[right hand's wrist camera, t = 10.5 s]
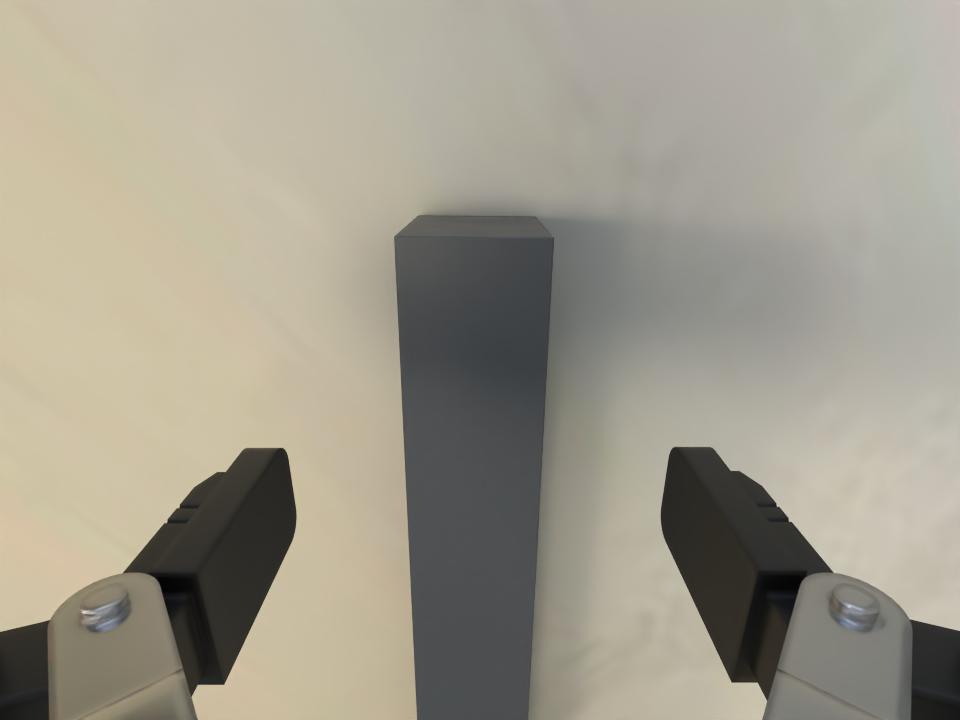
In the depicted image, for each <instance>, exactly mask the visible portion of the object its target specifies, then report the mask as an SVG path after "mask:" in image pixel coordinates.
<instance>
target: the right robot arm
mask: <svg viewBox="0 0 960 720" xmlns="http://www.w3.org/2000/svg"><path fill="white" fill-rule="evenodd" d="M661 525H662V531H663V535H664V538H665V541H666V543H667V545H668V547H669V549H670V552H671V554H672V556H673V558H674V560H675V562H676V564H677V567H678V569H679V571H680V573H681V575H682V577H683V579H684V581H685V584H686V586H687V588H688V590H689V592H690V594H691V596H692V599H693V601H694V603H695V605H696V607H697V609H698V611H699V614H700V616H701V618H702V620H703V622H704V624H705V626H706V628H707V631H708V633H709V635H710V637H711V639H712V641H713V643H714V646H715V648H716V650H717V652H718V654H719V656H720V658H721V660H722V663H723V665H724V667H725V669H726V671H727V673H728V675H729V678H730V680H731V682H758V684H759V686H760V688H761V690H762V692H763V694H764V695H765V697H766V699H767V705H766V708H765V712H764V715H763V719H762V720H960V631H957V630H953V629H948V628H944V627H940V626H935V625H931V624H927V623H923V622H918V621H914V620H910V619H909V618H908V616H907V614H906V613H905V612H904V610H903V609H902V608H901V607H900V606H899V605H898V604H897V603H896V602H895V601H894V600H893V599H892V598H890V597H889V596H888V595H886V594H885V593H883V592H882V591H880V590H879V589H877V588H875V587H874V586H872V585H870V584H868V583H866V582H863V581H861V580H859V579H856V578H853V577H850V576H846V575H842V574H837V573H833V571H832V570H831V569H830V568H829V567H828V565H827V564H826V563H825V562H824V561H823V559H822V558H821V557H820V556H819V555H818V553H817V552H816V551H815V550H814V548H813V547H812V546H811V545H810V544H809V542H808V541H807V540H806V539H805V538H804V536H803V535H802V534H801V533H800V532H799V530H798V529H797V528H796V527H795V525H794V524H793V523H792V522H789V520H788V517H787V516H786V515H785V513H784V512H783V511H782V510H781V509H780V507H777V506H776V502H775V501H774V500H773V499H772V498H771V496H770V495H769V494H768V493H767V492H766V490H765V489H764V488H763V487H762V486H761V485H760V484H758V483H756V482H755V481H753V480H752V479H750V478H749V477H747V476H746V475H744V474H743V473H741V472H740V471H730V470H729V468H728V467H727V466H726V464H725V463H724V462H723V460H722V459H721V458H720V457H719V455H718V454H717V453H716V451H715V450H714V449H713V448H711V447H674V448H672V450H671V452H670V455H669V460H668V466H667V473H666V480H665V486H664V493H663V500H662V506H661ZM295 528H296V506H295V499H294V493H293V486H292V480H291V473H290V466H289V460H288V455H287V453H286V451H285V449H283V448H246V449H244V450H243V451H242V452H241V453H240V455H239V456H238V457H237V458H236V460H235V461H234V462H233V464H232V465H231V466H230V467H229V469H228V470H227V471H226V472H217V473H215V474H214V475H212V476H211V477H209V478H208V479H206V480H205V481H203V482H202V483H200V484H199V485H197V486H196V487H194V488H193V490H192V491H191V492H190V493H189V494H188V496H187V497H186V498H185V499H184V500H183V502H182V503H181V504H180V508H177V509H176V510H175V511H174V512H173V514H172V515H171V516H170V517H169V518H168V522H167V523H164V524H163V526H162V527H161V528H160V529H159V530H158V532H157V533H156V534H155V535H154V536H153V538H152V539H151V540H150V541H149V542H148V544H147V545H146V546H145V547H144V548H143V550H142V551H141V552H140V553H139V554H138V556H137V557H136V558H135V559H134V560H133V562H132V563H131V564H130V565H129V566H128V568H127V569H126V570H125V571H124V572H123V574H118V575H114V576H110V577H107V578H104V579H101V580H99V581H97V582H94V583H92V584H90V585H88V586H86V587H85V588H83V589H81V590H80V591H78V592H77V593H75V594H74V595H72V596H71V597H70V598H68V599H67V600H66V601H65V602H64V603H63V604H62V605H61V606H60V607H59V608H58V609H57V610H56V612H55V613H54V614H53V616H52V618H51V619H50V620H49V621H45V622H41V623H37V624H33V625H28V626H24V627H20V628H16V629H11V630H7V631H3V632H0V720H198V719H197V715H196V712H195V708H194V705H193V701H192V698H191V697H192V695H193V693H194V691H195V689H196V687H197V685H224V684H225V682H226V680H227V677H228V675H229V673H230V671H231V669H232V667H233V665H234V663H235V661H236V658H237V656H238V654H239V652H240V650H241V648H242V646H243V644H244V642H245V639H246V637H247V635H248V633H249V631H250V629H251V627H252V625H253V623H254V620H255V618H256V616H257V614H258V612H259V610H260V608H261V606H262V604H263V601H264V599H265V597H266V595H267V593H268V591H269V589H270V587H271V585H272V583H273V580H274V578H275V576H276V574H277V572H278V570H279V568H280V566H281V564H282V561H283V559H284V557H285V555H286V553H287V551H288V549H289V547H290V545H291V542H292V540H293V537H294V533H295Z"/></svg>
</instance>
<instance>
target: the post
mask: <svg viewBox="0 0 960 720" xmlns="http://www.w3.org/2000/svg"><path fill="white" fill-rule="evenodd" d="M394 241H395V262H396V283H397V304H398V325H399V346H400V367H401V388H402V409H403V430H404V451H405V472H406V493H407V514H408V535H409V556H410V577H411V598H412V619H413V640H414V661H415V682H416V703H417V720H528V708H529V689H530V671H531V652H532V634H533V616H534V597H535V579H536V560H537V542H538V523H539V505H540V486H541V468H542V449H543V431H544V412H545V394H546V375H547V357H548V338H549V320H550V301H551V283H552V264H553V246H554V238H553V236H552V235H551V234H550V233H549V232H548V231H547V230H546V228H545V227H544V226H543V225H542V224H541V223H540V221H539V220H538V219H537V218H536V217H525V216H417V217H416V218H415V219H414V220H413V221H412V222H410V223H409V224H408V225H407V226H406V227H405V228H404V229H402V230H401V231H400V232H399V233H398V234H397V235H396V236H395V237H394Z"/></svg>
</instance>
